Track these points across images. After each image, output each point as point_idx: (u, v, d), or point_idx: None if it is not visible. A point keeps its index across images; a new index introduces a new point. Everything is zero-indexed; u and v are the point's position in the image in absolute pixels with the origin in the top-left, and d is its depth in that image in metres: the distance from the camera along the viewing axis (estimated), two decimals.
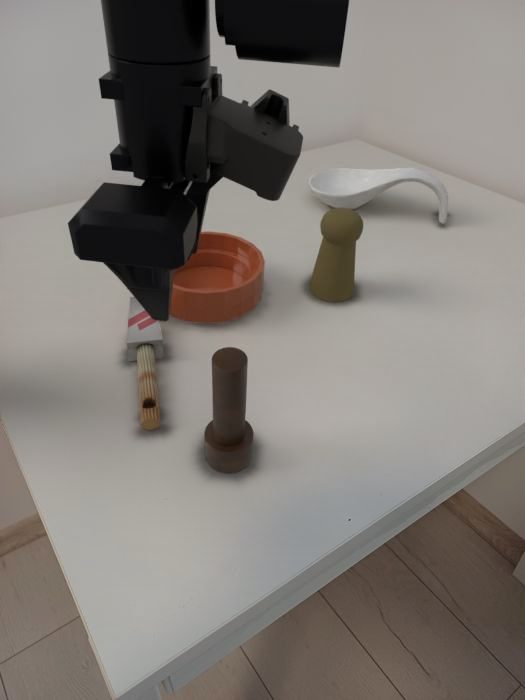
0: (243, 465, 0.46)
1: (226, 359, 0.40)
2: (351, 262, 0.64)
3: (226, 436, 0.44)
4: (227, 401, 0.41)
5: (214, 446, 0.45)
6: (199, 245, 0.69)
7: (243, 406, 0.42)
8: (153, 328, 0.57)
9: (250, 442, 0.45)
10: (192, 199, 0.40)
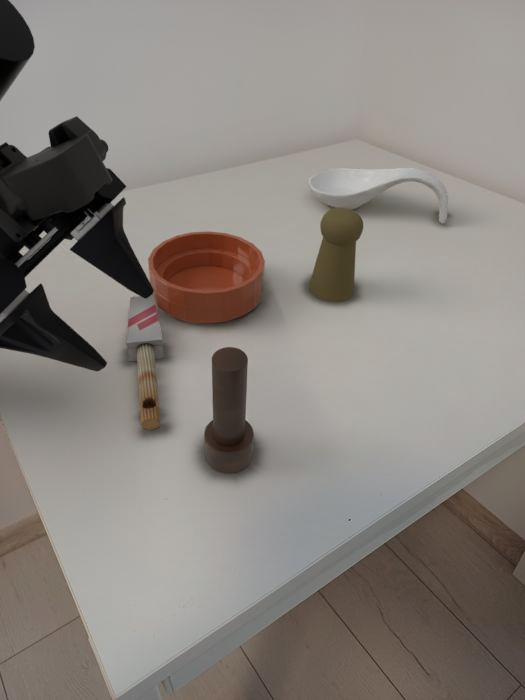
0: (243, 465, 0.46)
1: (226, 359, 0.40)
2: (351, 262, 0.64)
3: (226, 436, 0.44)
4: (227, 401, 0.41)
5: (214, 446, 0.45)
6: (199, 245, 0.69)
7: (243, 406, 0.42)
8: (153, 328, 0.57)
9: (250, 442, 0.45)
10: (112, 251, 0.42)
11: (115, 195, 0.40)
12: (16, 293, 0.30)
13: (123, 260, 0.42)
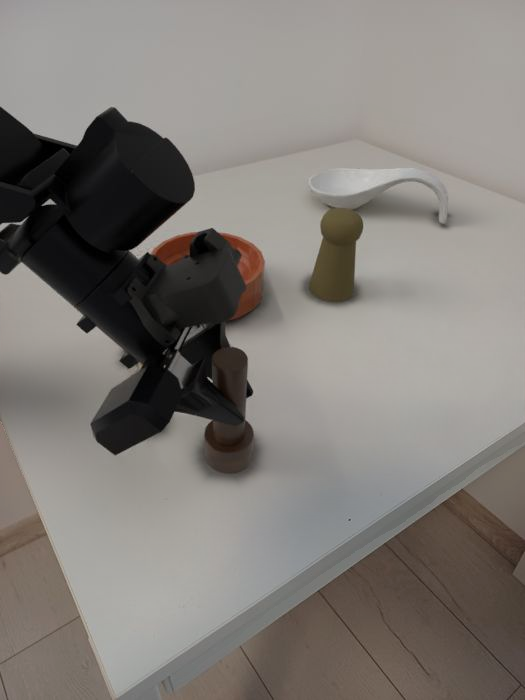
0: (243, 465, 0.46)
1: (226, 359, 0.40)
2: (351, 262, 0.64)
3: (226, 436, 0.44)
4: None
5: (215, 446, 0.45)
6: None
7: (243, 406, 0.42)
8: None
9: (250, 442, 0.45)
10: None
11: None
12: (176, 401, 0.33)
13: None
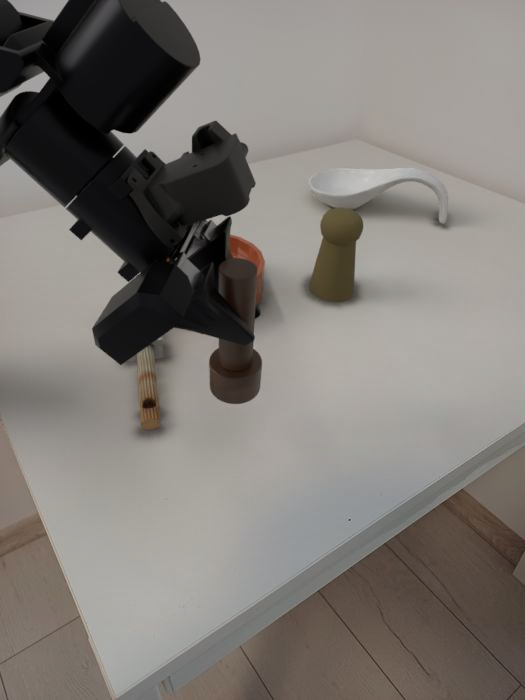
0: (252, 394, 0.43)
1: (234, 268, 0.37)
2: (351, 262, 0.64)
3: (234, 360, 0.41)
4: None
5: (221, 372, 0.42)
6: None
7: (252, 324, 0.39)
8: None
9: (259, 368, 0.42)
10: None
11: None
12: (188, 298, 0.30)
13: None
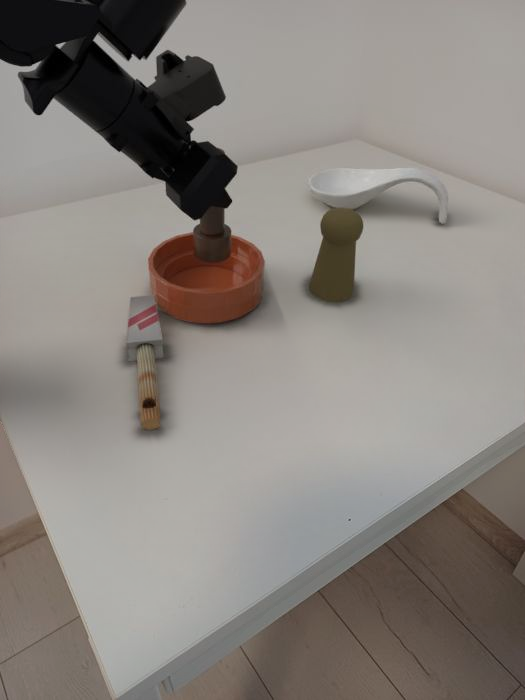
0: (230, 250, 0.61)
1: None
2: (351, 262, 0.64)
3: (218, 225, 0.58)
4: None
5: (212, 238, 0.58)
6: None
7: None
8: (153, 328, 0.57)
9: (230, 228, 0.60)
10: None
11: None
12: None
13: None
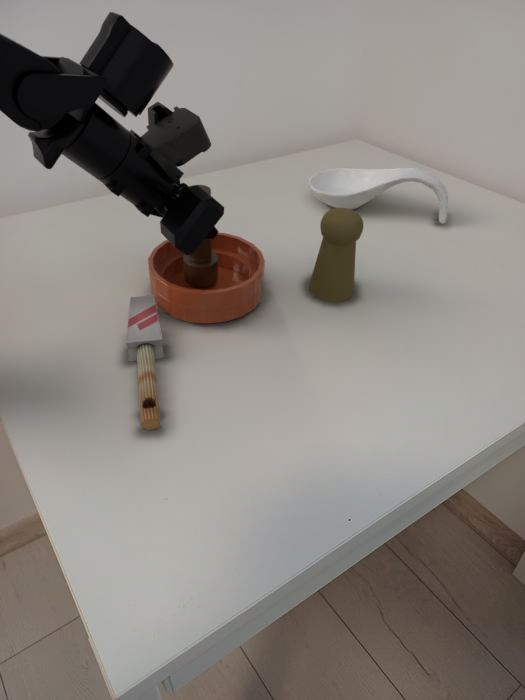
0: (217, 275, 0.67)
1: None
2: (351, 262, 0.64)
3: (206, 253, 0.64)
4: None
5: (201, 265, 0.64)
6: None
7: None
8: (153, 328, 0.57)
9: (216, 255, 0.66)
10: None
11: None
12: None
13: None
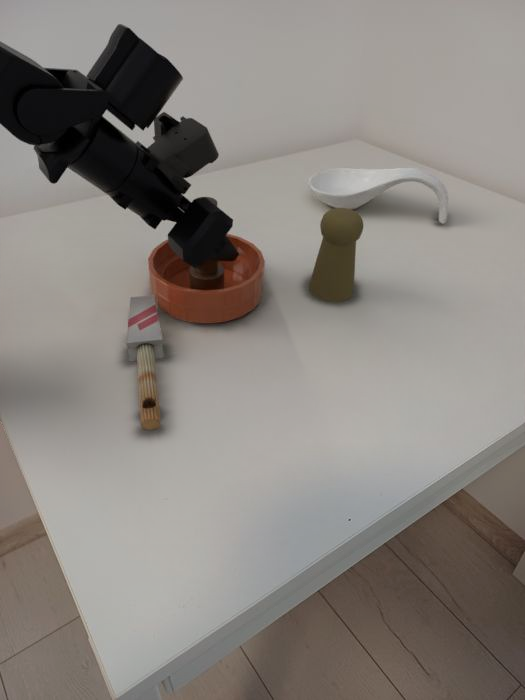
0: None
1: None
2: (351, 262, 0.64)
3: (212, 265, 0.63)
4: None
5: (207, 277, 0.63)
6: None
7: None
8: (153, 328, 0.57)
9: (223, 267, 0.65)
10: None
11: None
12: None
13: None
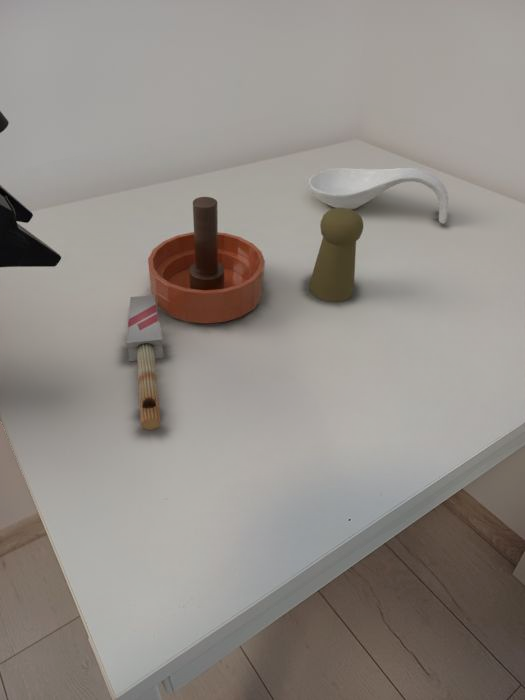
0: None
1: (204, 202, 0.58)
2: (351, 262, 0.64)
3: (212, 265, 0.63)
4: (213, 233, 0.60)
5: (207, 277, 0.63)
6: None
7: None
8: (153, 328, 0.57)
9: (223, 267, 0.65)
10: None
11: None
12: (4, 200, 0.38)
13: (0, 194, 0.49)
